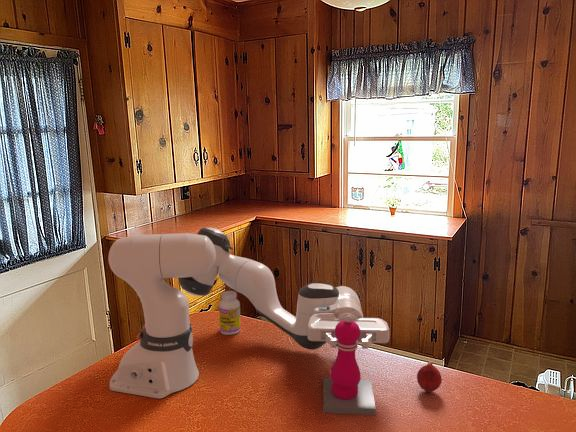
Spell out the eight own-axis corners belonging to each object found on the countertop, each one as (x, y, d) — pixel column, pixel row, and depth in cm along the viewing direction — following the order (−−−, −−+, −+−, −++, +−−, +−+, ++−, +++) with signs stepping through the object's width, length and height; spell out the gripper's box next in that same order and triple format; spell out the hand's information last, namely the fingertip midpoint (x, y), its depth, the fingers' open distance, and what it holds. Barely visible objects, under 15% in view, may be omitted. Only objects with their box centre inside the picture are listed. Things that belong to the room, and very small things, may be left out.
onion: (441, 400, 111) (443, 369, 109) (417, 397, 112) (418, 367, 110) (439, 386, 116) (441, 357, 114) (415, 384, 117) (417, 355, 116)
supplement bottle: (216, 334, 145) (215, 296, 142) (224, 325, 151) (222, 288, 149) (236, 336, 144) (235, 298, 141) (243, 327, 150) (242, 290, 147)
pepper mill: (340, 404, 107) (344, 324, 102) (324, 388, 113) (326, 312, 109) (365, 396, 110) (370, 318, 106) (348, 380, 116) (351, 307, 112)
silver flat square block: (323, 412, 106) (323, 406, 106) (323, 383, 118) (323, 378, 118) (375, 414, 105) (375, 409, 105) (370, 385, 117) (370, 379, 117)
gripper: (386, 332, 121) (393, 359, 108) (308, 330, 123) (306, 356, 109) (387, 309, 120) (394, 334, 106) (308, 307, 121) (306, 331, 108)
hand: (349, 345), depth 108 cm, fingers open, 6 cm apart
